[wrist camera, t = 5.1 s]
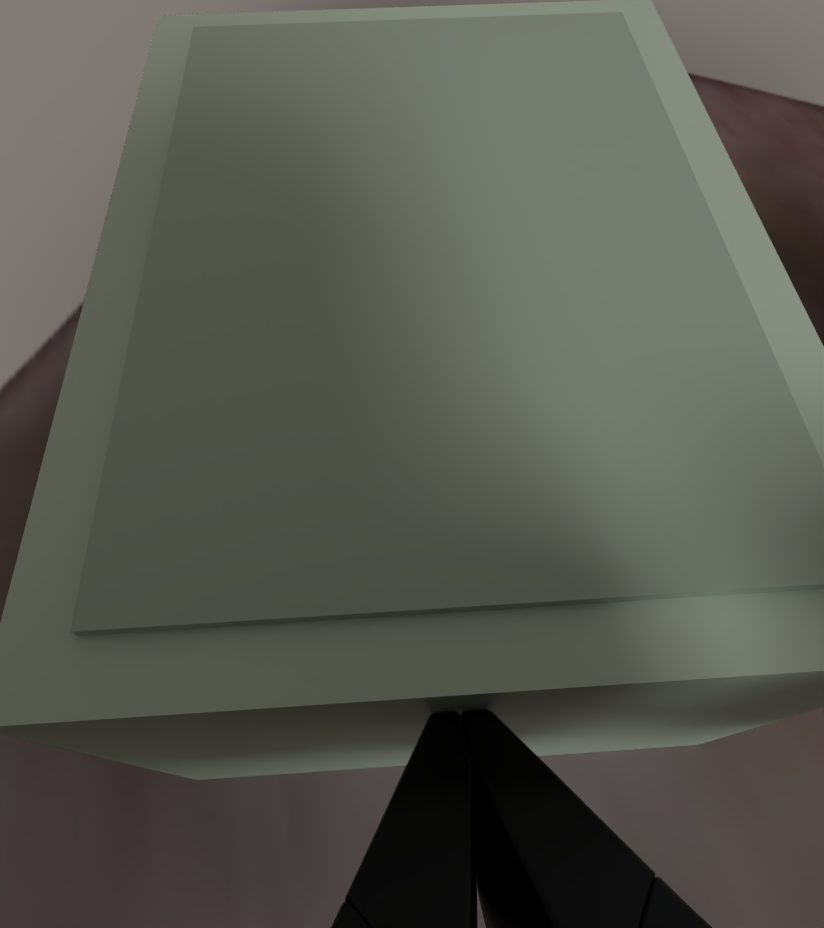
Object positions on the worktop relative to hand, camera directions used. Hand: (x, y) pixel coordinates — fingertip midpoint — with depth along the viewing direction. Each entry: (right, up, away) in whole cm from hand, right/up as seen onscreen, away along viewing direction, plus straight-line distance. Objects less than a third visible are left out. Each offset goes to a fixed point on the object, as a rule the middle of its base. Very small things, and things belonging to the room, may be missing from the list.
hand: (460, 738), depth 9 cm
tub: (0, +3, +11) cm, 11 cm away
